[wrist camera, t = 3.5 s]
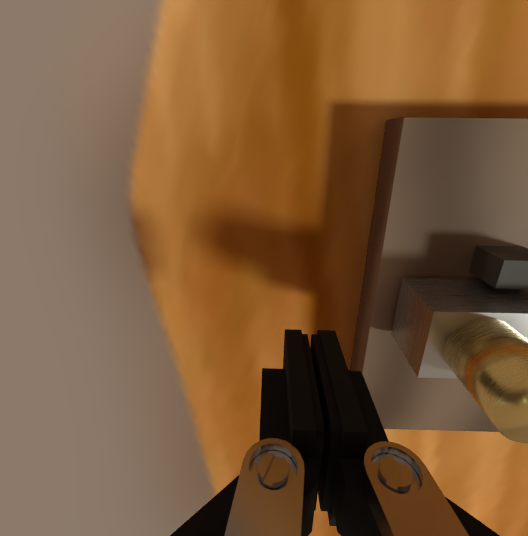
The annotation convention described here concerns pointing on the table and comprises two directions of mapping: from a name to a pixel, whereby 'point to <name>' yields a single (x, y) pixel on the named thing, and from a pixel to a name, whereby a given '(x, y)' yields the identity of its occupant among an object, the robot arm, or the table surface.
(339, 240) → the table surface
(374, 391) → the frame
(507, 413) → the bolt
